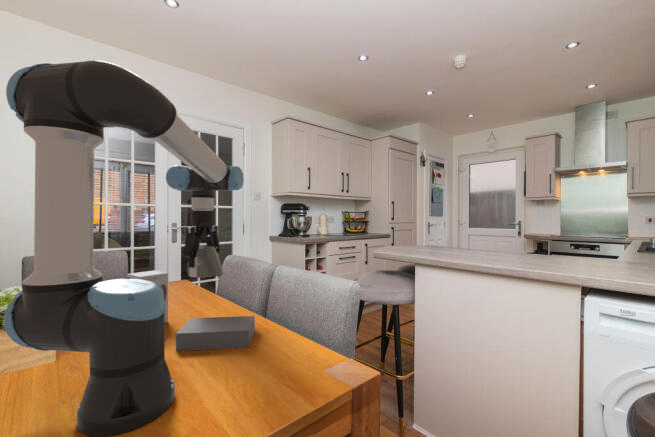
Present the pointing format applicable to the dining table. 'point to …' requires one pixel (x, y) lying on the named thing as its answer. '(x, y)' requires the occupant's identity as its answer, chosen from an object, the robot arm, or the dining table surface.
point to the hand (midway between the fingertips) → (203, 274)
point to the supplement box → (155, 277)
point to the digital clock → (208, 262)
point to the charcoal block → (216, 333)
